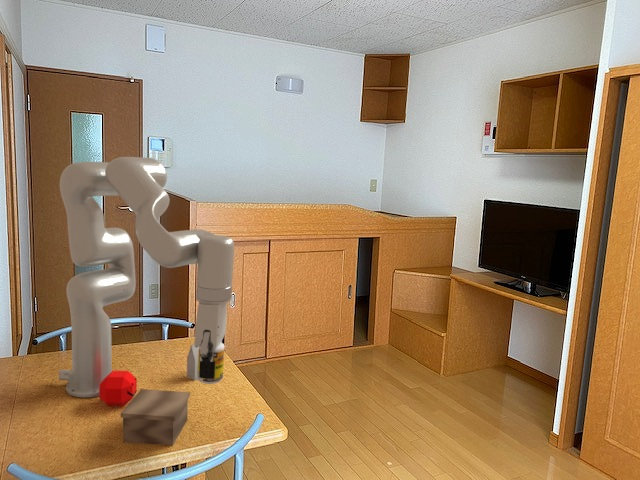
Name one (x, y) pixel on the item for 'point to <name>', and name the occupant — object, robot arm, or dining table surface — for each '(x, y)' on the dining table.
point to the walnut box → (155, 417)
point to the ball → (118, 388)
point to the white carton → (192, 362)
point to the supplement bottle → (218, 364)
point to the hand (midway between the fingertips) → (210, 370)
